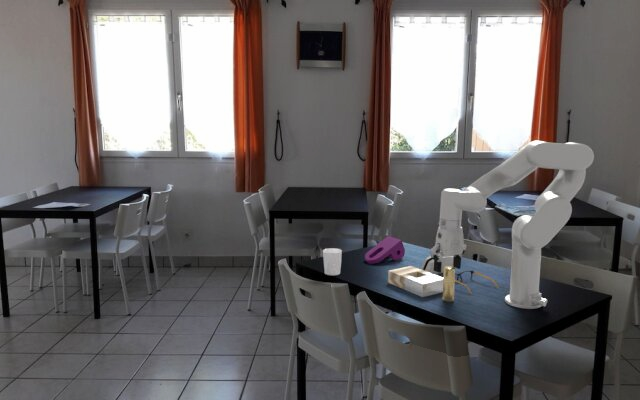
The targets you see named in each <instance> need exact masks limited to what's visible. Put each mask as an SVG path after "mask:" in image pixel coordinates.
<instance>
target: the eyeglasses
mask: <svg viewBox="0 0 640 400" xmlns="http://www.w3.org/2000/svg"><path fill="white" fill-rule="evenodd" d="M468 272H470V279H469V280H472V279H473V274H475V275H477V276H481V277H482V278H487V279H489V280H490V281H492V282H493V284H494V285H495V288H496V289H499V286H498V284H497V283H496V281H495V280H494V279H493V278H491V277H488V276H486V275H483V274H482V273H480V272H477V271H474V270H466V271H465V270H464V271H462V272H460V273H455V276H457V277H456V279H455V282H456V283H459V284H460V285H463V286H465V287H466V289H467V291H468V293H469V294H470V295H473V294H472V291H471V289H470V288H469V287H468V285H467V284H465V283H463V281H464V280H463V277H462V274H463V273H468ZM459 278H460V280H461V281H459Z"/></svg>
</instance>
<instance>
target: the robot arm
mask: <svg viewBox="0 0 640 400" xmlns="http://www.w3.org/2000/svg"><path fill="white" fill-rule="evenodd" d="M594 154H595V153H594V151H593V150H592V148H591V147H590V146H588V145H587V144H584V143H578V142H573V141H569V142H565V143H562V142H561V143H560V142H548V141H544V140H533V141H531V142H529V143H527V144H526V145H524V146H523V147H522V148H520V149H519V150H518V151H517V152H515V153H514V154H512V156H510V157H509V158H507V159H506V160H504V161H502V163H500V164H499V165H498V166H496V167H494V168H493V169H492V170H490V171H488V172H487V173H485V174H483V175H482V176H480V177H479V178H478V179H476V180H475V181H473V182H472V183H471V184H469V185H468V186H467V187H466V188H465V189H464V190H463V191H462V190H461V189H458V188H444V189H443V190H442V191H441V194H440V205H439V206H440V208H439V222H437V223H438V228H437V232H436V237H435V244H434V246H433V247H432V248H430V249H429V254H430V256H431V257H432V258H433V260H434V271H436V272H438V273H440V274H442V273H441V267H442V262H440V261H441V259H442V258H443V256H444V257H448V256H454V258H453V267H454V268H455V269H458V270H460V269H461V267H462V259H463V257H464V254H465V253H466V248H467V244H466V243H464V232H463V231H464V230H463V227H462V216H463V211H465V212H471V213H479V212H482V211H483V210H485V208H486V206H487V205H488V203H487V202H488V201H487V198H489V197H490V196H492V195H493V194H494V193H496V192H498V191H499V190H503V189H505V188H510V187H513V186H515V185H517V184H518V183H520V182H521V181H522V180H523V179H525V178H526V177H527V176H529V175H530V174H532V173H533V172H534V171H535V170H537V169H539V168H541V169H551V170H558V173H557V175H556V176H555V177H554V179H553V180H552V181H551V183H549V185H548V186H547V187H546V188H545V189H544V191H542V193H541V194H540V195H538V197H537V198H536V200H535V201H534V210H535V213H534V215H528V214H527V215H526V214H525V215H521V216H519V217H517V218H516V219H515V220H514V221H513V224H512V227H511V245H512V246H511V250H512V251H511V264H510V265H511V266H510V283H509V286H510V287H509V294H507V295H506V296H505V297H504V302H505V303H506V304H508V305H509V306H511V307H515V308H518V309H527V310H533V309H534V310H536V309H539V308H541V307H546V306H547V303H548V299H547V298H543V297H542V292H540V280H541V279H540V276H541V262H542V248H544V247H545V246H546V245H548V244H549V243H550V242H551V241H552V240H553V238H554V237H555V236H556V235H558V233H559V231H561V229H562V228H563V227H564V226H565V225H566V224H567V223H568V221H569V220H570V218H571V216H572V212H573V207H572V203H571V201H572V200H573V199H574V197H575V196H576V195H577V193H578V192H579V191H580V190H581V189H582V187H583V185H584V182H585V180H586V176H587V175H586V174H587V173H586V172H587V170H586V169H588V168H589V167H590V166H591V165H592V164H593V162H594V159H595V155H594ZM439 255H440V256H439ZM438 256H439V258H438Z"/></svg>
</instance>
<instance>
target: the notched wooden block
mask: <svg viewBox="0 0 640 400" xmlns="http://www.w3.org/2000/svg"><path fill="white" fill-rule="evenodd" d="M387 272H388V276H387V284H390V285H392V286H395V287H396V288H400V289H402V290H405V277H408V276H412V277H415V278H418V277H422V273H426V272H427V271H424V270H421V268H418V267H416V266H412V265H408V266H405V267H400V268H394V269H390V270H388V271H387ZM405 291H406V290H405Z"/></svg>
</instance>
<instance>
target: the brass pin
mask: <svg viewBox="0 0 640 400" xmlns="http://www.w3.org/2000/svg"><path fill="white" fill-rule="evenodd" d="M442 275H443V292H442V301H444V302H448V303H449V302H450V303H451V302H454V301H455V280H456V279H455V278H456V268H455V267H449V266H447V267H444V272H443V273H442Z"/></svg>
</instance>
